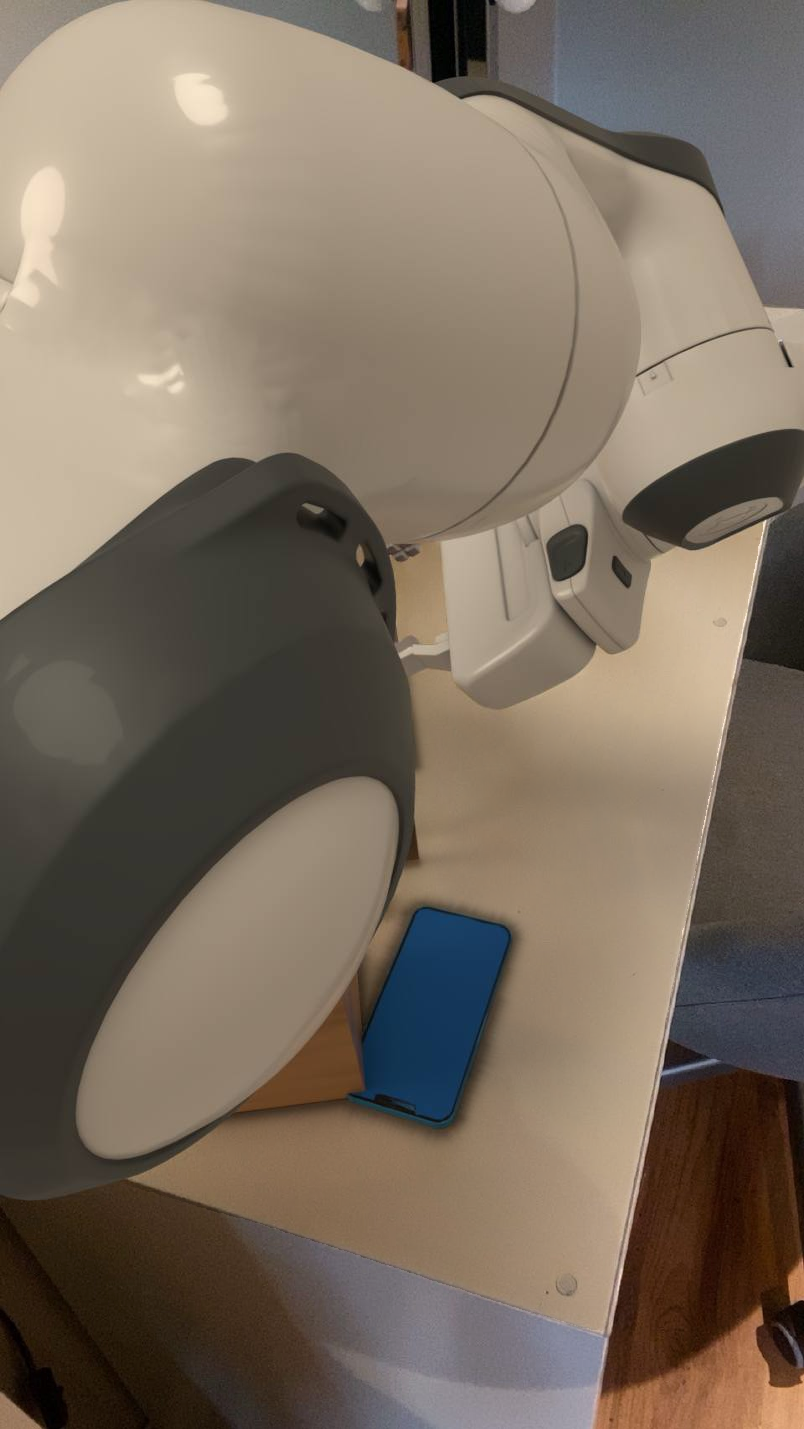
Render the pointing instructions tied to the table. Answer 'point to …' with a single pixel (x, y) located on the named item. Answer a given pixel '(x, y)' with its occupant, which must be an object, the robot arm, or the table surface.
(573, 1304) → the table surface
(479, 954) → the smartphone
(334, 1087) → the display stand
